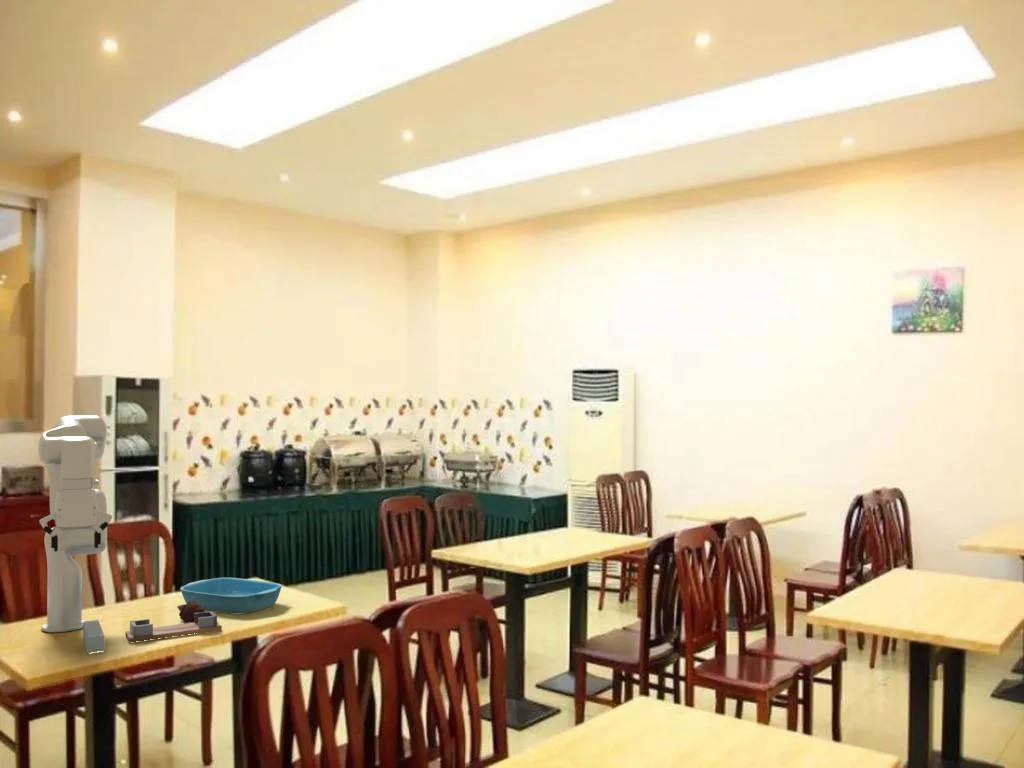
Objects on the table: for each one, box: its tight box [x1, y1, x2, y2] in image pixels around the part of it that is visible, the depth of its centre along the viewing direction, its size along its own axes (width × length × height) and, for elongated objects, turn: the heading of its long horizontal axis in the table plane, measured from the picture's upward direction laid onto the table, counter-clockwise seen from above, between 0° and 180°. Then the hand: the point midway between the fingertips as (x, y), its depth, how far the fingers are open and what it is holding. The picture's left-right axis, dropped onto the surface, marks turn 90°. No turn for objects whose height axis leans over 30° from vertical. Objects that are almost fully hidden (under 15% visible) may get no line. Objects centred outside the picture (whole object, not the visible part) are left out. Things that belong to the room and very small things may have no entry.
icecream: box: [177, 601, 206, 623], centre depth 272 cm, size 7×7×15 cm
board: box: [124, 621, 223, 644], centre depth 259 cm, size 9×26×2 cm, turn 121°
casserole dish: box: [180, 577, 283, 614], centre depth 294 cm, size 37×22×7 cm, turn 62°
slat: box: [82, 619, 105, 653], centre depth 247 cm, size 4×20×5 cm, turn 30°
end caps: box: [129, 610, 218, 637], centre depth 259 cm, size 8×24×3 cm, turn 121°
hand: (76, 549), depth 228 cm, fingers open, 9 cm apart
